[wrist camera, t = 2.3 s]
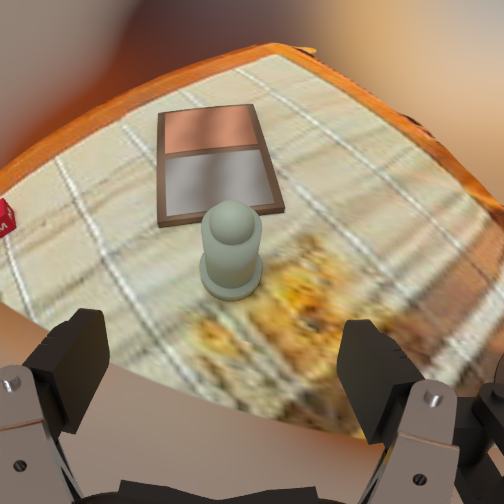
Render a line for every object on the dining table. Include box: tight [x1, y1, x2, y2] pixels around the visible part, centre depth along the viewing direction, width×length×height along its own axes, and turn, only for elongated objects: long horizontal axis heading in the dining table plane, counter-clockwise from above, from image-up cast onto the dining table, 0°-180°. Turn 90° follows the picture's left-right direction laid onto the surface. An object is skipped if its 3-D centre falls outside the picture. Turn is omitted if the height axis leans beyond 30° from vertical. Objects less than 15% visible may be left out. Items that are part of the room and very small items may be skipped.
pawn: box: [199, 200, 262, 301], centre depth 26 cm, size 6×6×10 cm
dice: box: [0, 198, 16, 238], centre depth 30 cm, size 3×3×3 cm
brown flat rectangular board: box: [157, 104, 285, 228], centre depth 37 cm, size 13×18×1 cm
